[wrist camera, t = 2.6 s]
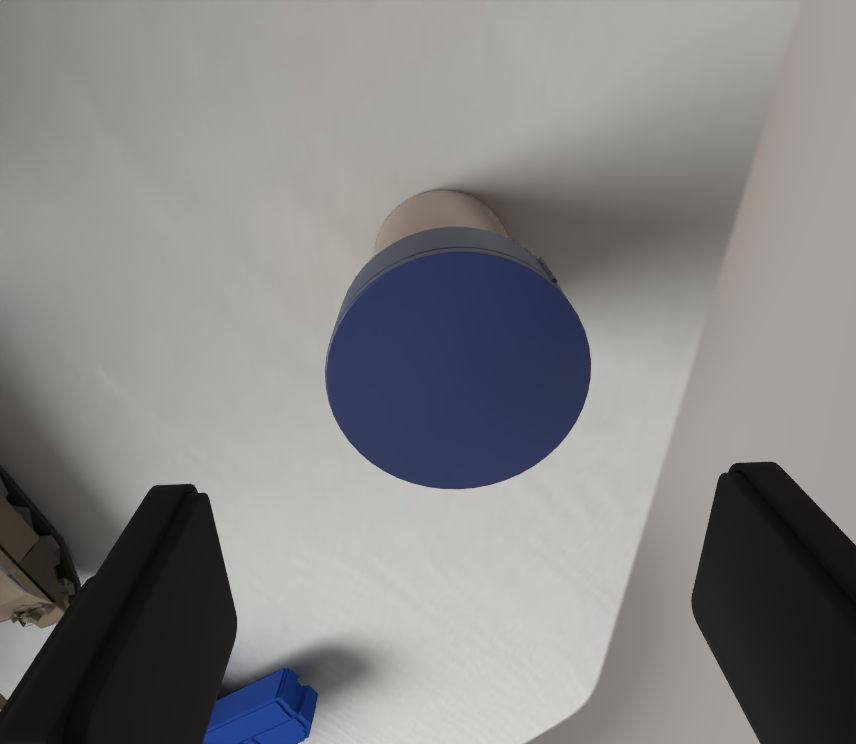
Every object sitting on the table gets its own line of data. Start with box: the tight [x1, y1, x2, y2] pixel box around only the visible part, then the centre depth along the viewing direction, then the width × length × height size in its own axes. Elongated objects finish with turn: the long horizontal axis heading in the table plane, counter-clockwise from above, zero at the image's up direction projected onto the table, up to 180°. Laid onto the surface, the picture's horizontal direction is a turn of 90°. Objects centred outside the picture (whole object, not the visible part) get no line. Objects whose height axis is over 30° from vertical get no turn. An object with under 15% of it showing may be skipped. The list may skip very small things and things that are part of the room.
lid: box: [325, 226, 591, 489], centre depth 15 cm, size 6×6×2 cm
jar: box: [372, 190, 510, 258], centre depth 19 cm, size 5×5×10 cm
